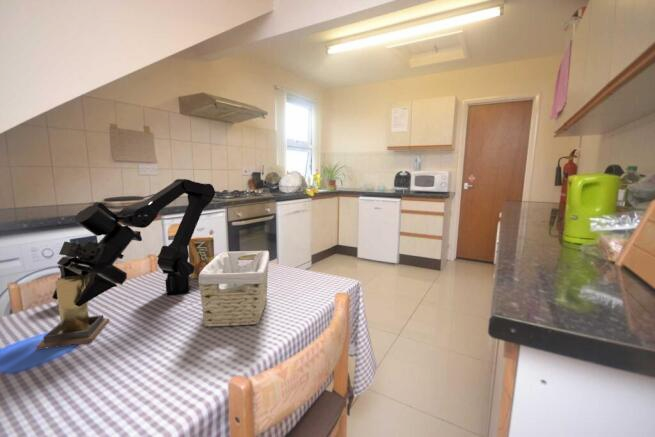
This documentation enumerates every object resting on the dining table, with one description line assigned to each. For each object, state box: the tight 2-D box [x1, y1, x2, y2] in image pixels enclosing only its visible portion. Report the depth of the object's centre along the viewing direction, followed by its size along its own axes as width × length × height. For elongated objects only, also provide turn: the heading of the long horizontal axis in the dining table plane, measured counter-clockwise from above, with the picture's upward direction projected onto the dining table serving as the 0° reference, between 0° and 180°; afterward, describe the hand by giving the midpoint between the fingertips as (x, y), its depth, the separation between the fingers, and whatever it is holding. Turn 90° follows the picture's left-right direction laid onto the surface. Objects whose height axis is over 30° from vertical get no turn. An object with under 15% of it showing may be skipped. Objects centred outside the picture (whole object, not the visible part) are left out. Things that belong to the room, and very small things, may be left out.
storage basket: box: [198, 250, 270, 327], centre depth 82 cm, size 24×16×15 cm
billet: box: [55, 276, 90, 333], centre depth 67 cm, size 5×5×13 cm
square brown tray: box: [36, 314, 110, 350], centre depth 68 cm, size 10×10×2 cm
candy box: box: [188, 235, 215, 279], centre depth 109 cm, size 9×4×15 cm, turn 116°
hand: (65, 302), depth 66 cm, fingers open, 9 cm apart
